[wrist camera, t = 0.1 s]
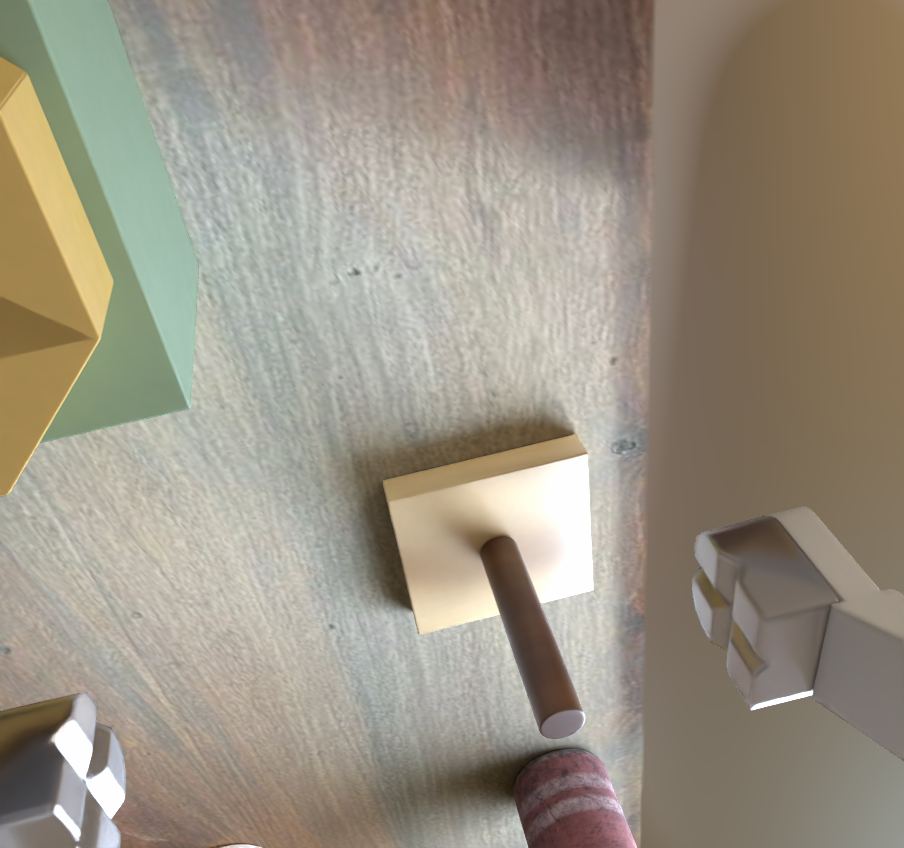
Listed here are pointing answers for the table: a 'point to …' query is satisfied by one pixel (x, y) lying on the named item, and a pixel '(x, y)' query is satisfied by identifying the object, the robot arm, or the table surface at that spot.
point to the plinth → (113, 211)
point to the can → (570, 803)
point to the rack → (502, 555)
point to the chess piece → (240, 846)
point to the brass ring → (40, 277)
